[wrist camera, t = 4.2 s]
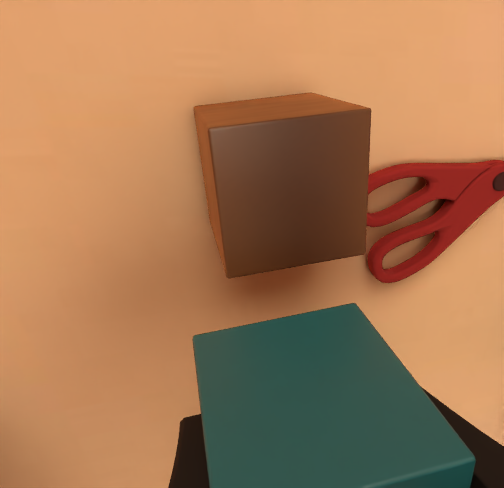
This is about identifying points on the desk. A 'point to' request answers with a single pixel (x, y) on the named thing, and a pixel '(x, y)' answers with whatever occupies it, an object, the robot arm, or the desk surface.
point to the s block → (320, 409)
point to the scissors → (444, 220)
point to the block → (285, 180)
